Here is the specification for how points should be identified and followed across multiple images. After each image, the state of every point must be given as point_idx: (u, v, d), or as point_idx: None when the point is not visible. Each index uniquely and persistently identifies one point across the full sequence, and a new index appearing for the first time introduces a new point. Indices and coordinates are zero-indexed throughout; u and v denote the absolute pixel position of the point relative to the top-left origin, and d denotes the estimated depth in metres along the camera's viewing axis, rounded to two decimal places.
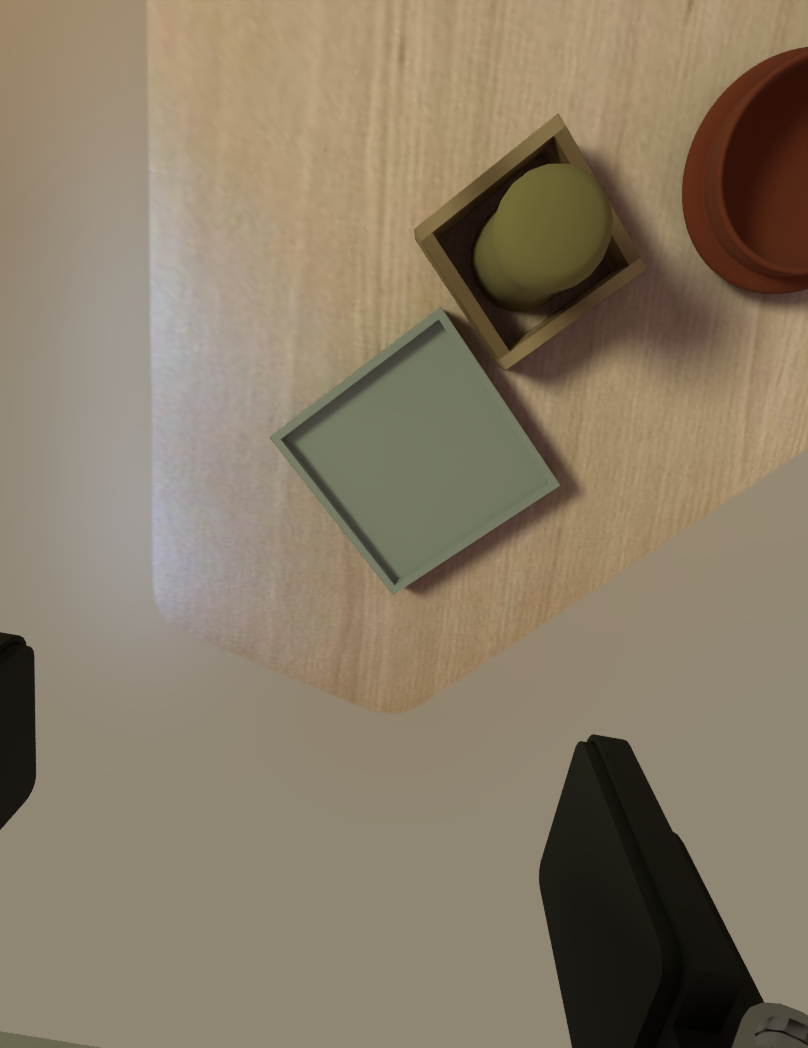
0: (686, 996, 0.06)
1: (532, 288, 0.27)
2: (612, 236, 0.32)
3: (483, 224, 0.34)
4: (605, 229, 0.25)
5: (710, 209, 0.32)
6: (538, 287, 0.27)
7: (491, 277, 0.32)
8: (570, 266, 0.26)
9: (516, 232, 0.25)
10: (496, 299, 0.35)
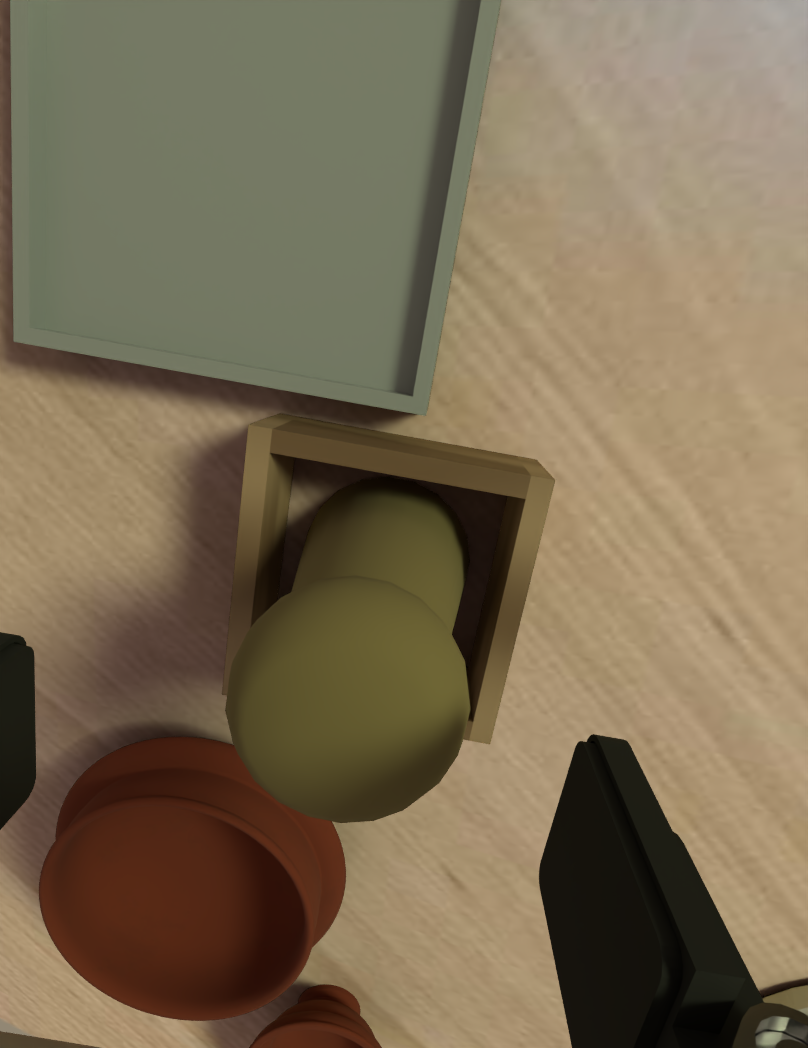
0: (686, 996, 0.06)
1: (287, 605, 0.12)
2: None
3: (466, 554, 0.21)
4: (265, 784, 0.12)
5: (233, 792, 0.21)
6: (276, 619, 0.12)
7: (391, 520, 0.18)
8: (254, 702, 0.11)
9: (391, 675, 0.11)
10: (364, 491, 0.20)
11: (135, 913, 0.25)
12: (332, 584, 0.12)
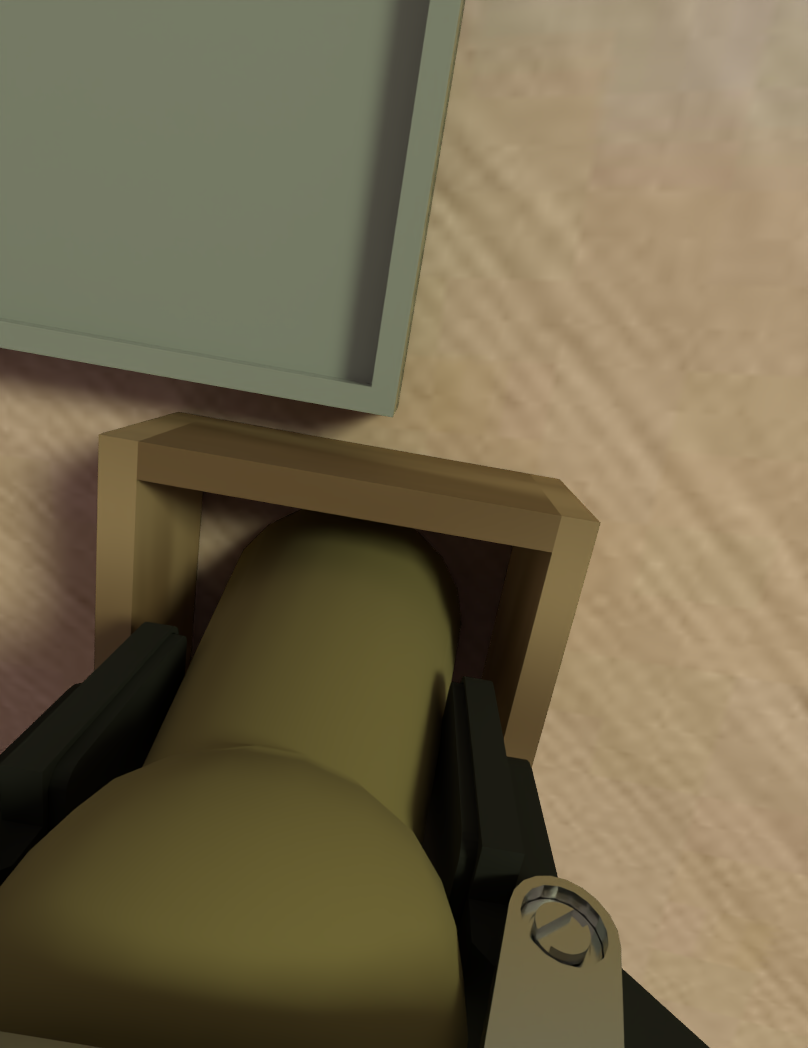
0: (479, 872, 0.07)
1: (61, 859, 0.05)
2: None
3: (456, 617, 0.14)
4: None
5: None
6: (25, 906, 0.05)
7: (336, 587, 0.11)
8: None
9: None
10: (303, 529, 0.13)
11: None
12: (171, 796, 0.06)
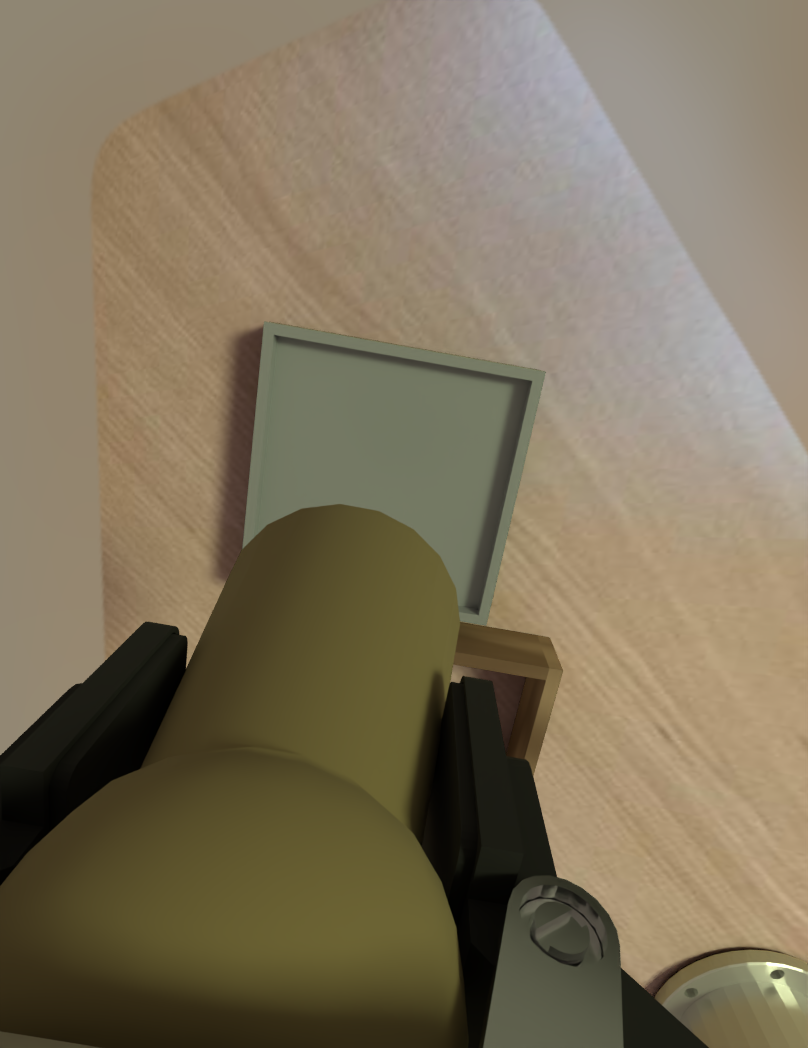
0: (478, 871, 0.07)
1: (59, 862, 0.05)
2: None
3: (455, 617, 0.14)
4: None
5: None
6: (22, 908, 0.05)
7: (334, 587, 0.11)
8: None
9: None
10: (301, 529, 0.13)
11: None
12: (169, 798, 0.06)
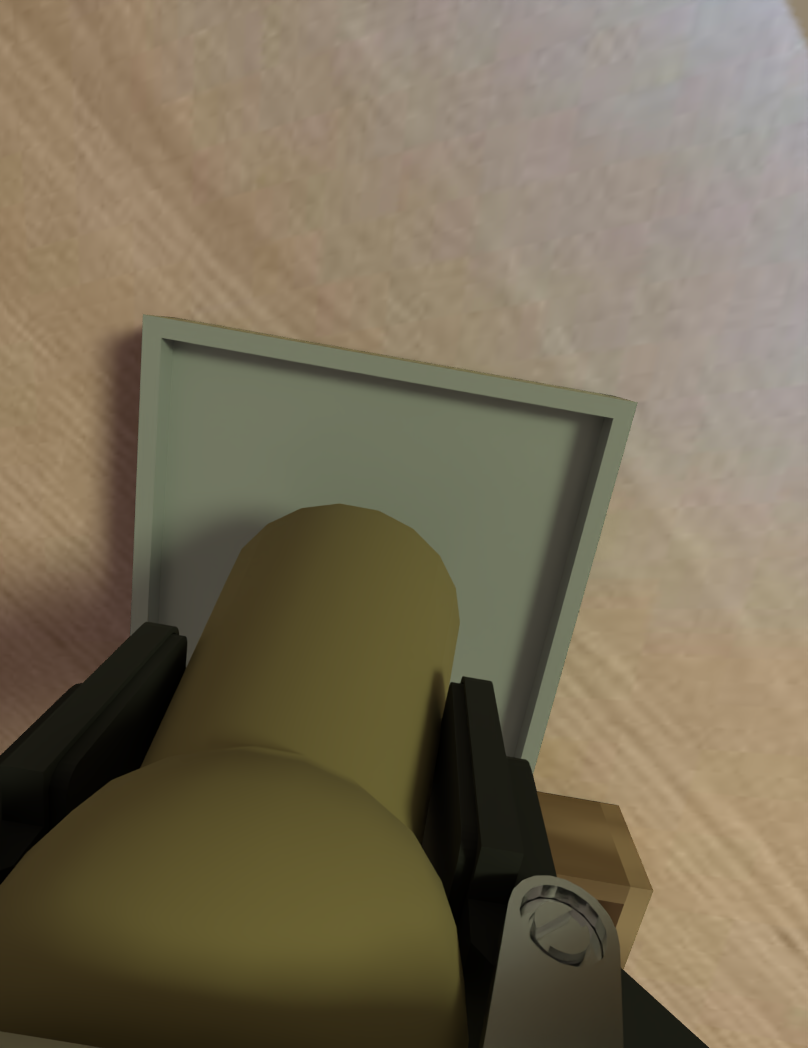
0: (478, 871, 0.07)
1: (58, 861, 0.05)
2: None
3: (455, 616, 0.14)
4: None
5: None
6: (22, 908, 0.05)
7: (334, 586, 0.11)
8: None
9: None
10: (301, 529, 0.13)
11: None
12: (169, 798, 0.06)
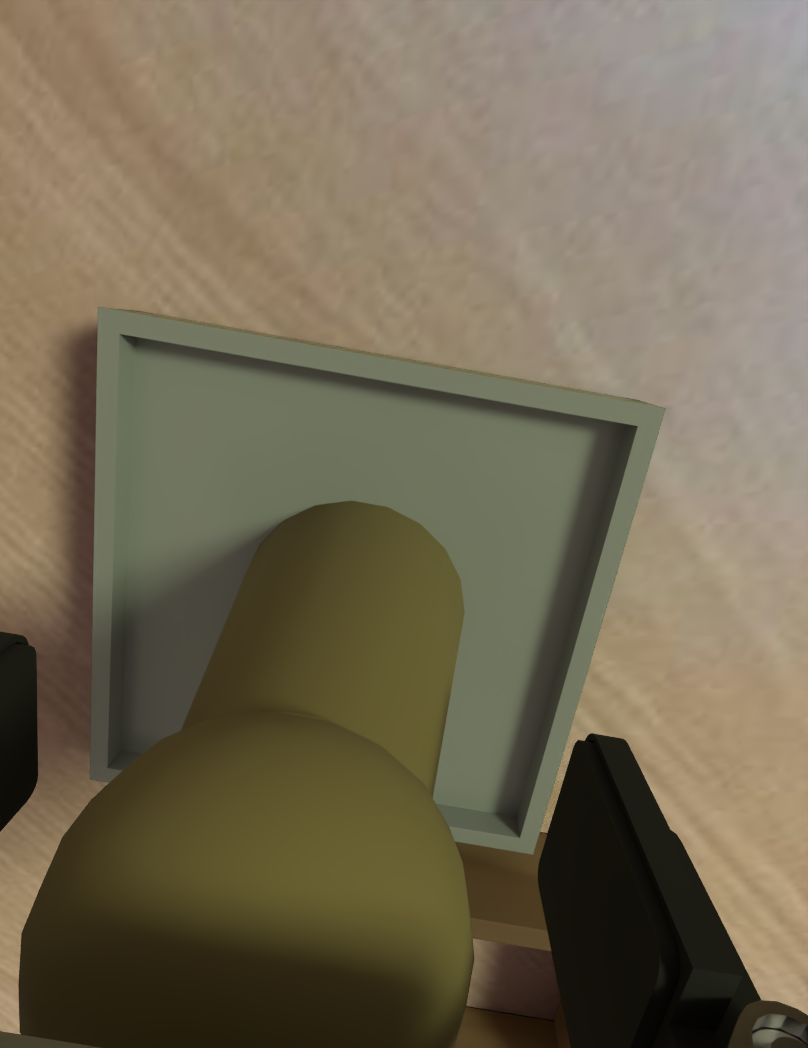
0: (683, 994, 0.06)
1: (126, 798, 0.06)
2: None
3: (459, 605, 0.15)
4: None
5: None
6: (99, 835, 0.06)
7: (349, 575, 0.12)
8: (49, 1011, 0.06)
9: (315, 968, 0.05)
10: (316, 524, 0.14)
11: None
12: (217, 747, 0.07)
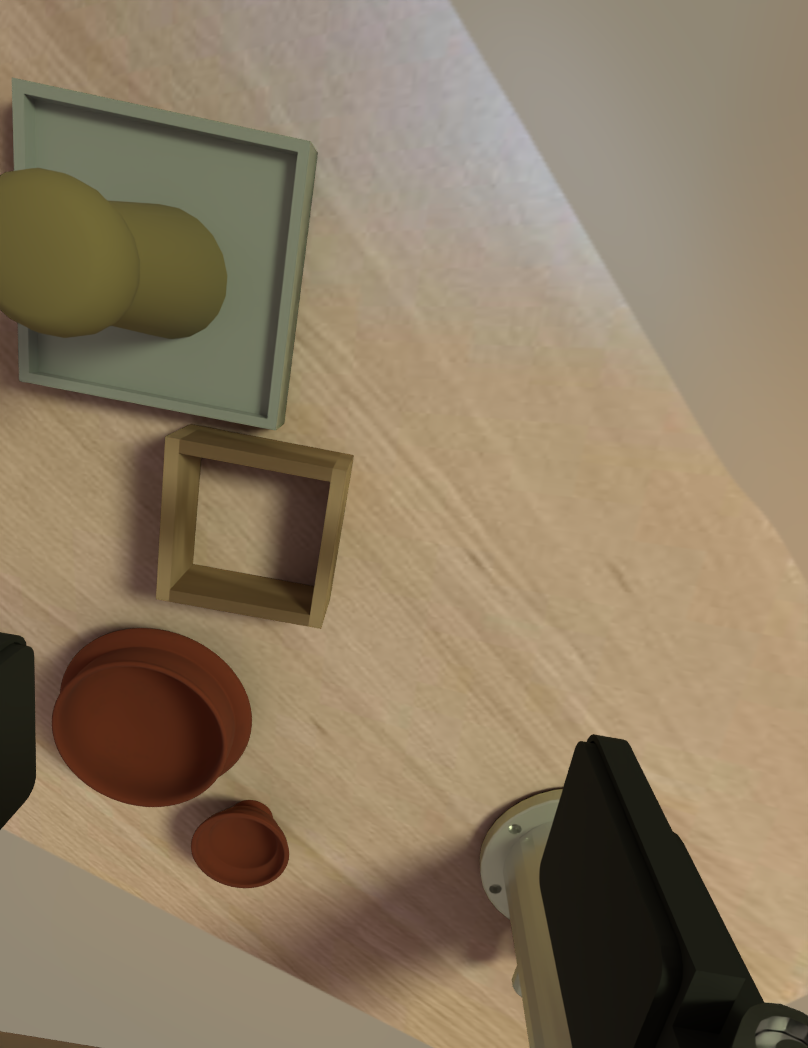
0: (686, 996, 0.06)
1: None
2: (202, 595, 0.32)
3: (217, 262, 0.28)
4: None
5: (173, 659, 0.34)
6: None
7: (132, 203, 0.25)
8: None
9: (53, 203, 0.18)
10: None
11: (115, 748, 0.38)
12: None
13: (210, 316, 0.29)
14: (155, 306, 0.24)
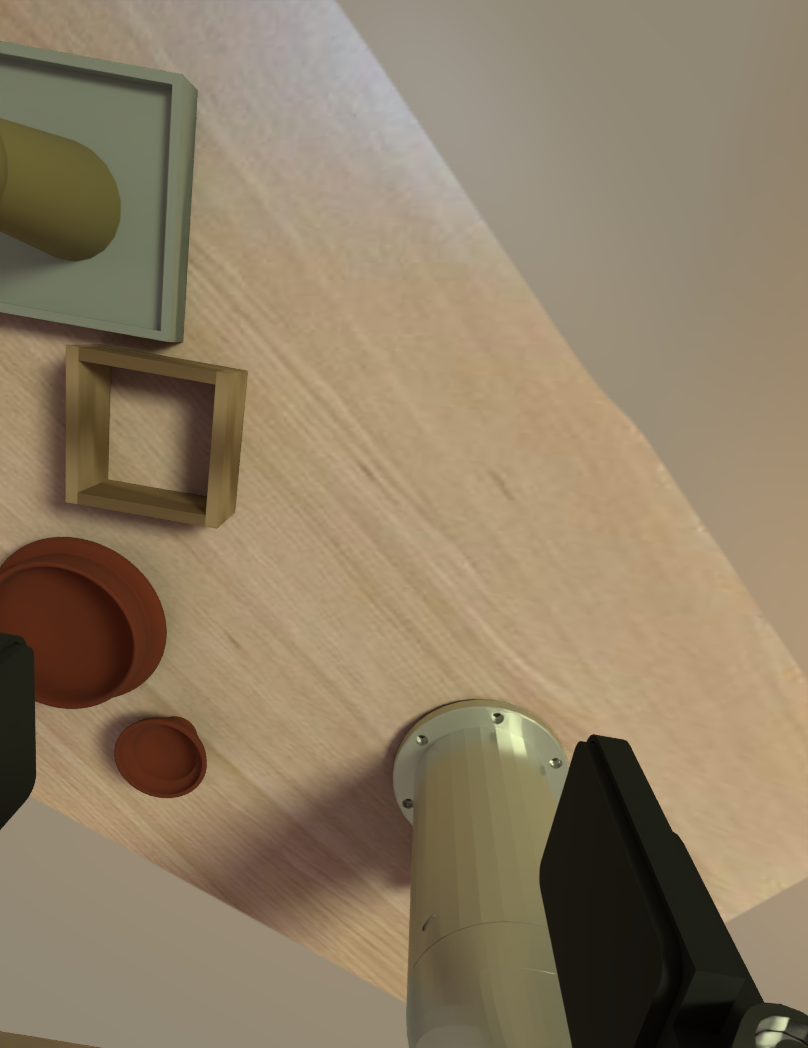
0: (686, 996, 0.06)
1: None
2: (107, 498, 0.35)
3: (108, 187, 0.32)
4: None
5: (87, 563, 0.37)
6: None
7: None
8: None
9: None
10: None
11: (42, 658, 0.41)
12: None
13: (106, 237, 0.33)
14: (36, 210, 0.28)
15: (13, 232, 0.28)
